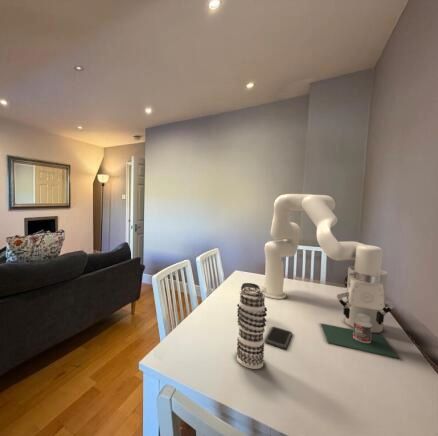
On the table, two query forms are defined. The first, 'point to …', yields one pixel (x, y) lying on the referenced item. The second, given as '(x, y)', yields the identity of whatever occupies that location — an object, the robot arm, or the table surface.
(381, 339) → the right mat
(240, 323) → the black white tall cylinder
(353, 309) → the cylinder vase
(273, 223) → the robot arm
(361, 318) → the pill bottle
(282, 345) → the cell phone
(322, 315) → the table surface
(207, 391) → the table surface
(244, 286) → the coffee cup
